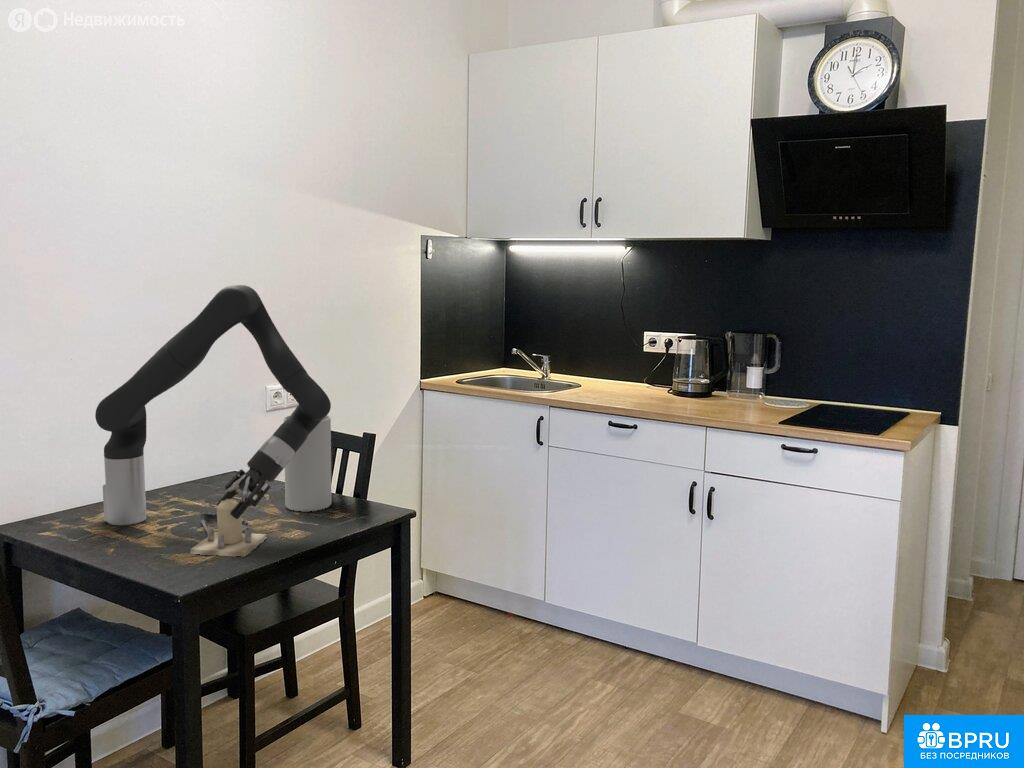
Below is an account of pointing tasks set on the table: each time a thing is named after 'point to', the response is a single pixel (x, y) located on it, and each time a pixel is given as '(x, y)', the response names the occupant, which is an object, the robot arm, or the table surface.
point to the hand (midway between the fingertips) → (226, 512)
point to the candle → (229, 522)
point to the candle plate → (217, 546)
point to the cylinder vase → (310, 471)
